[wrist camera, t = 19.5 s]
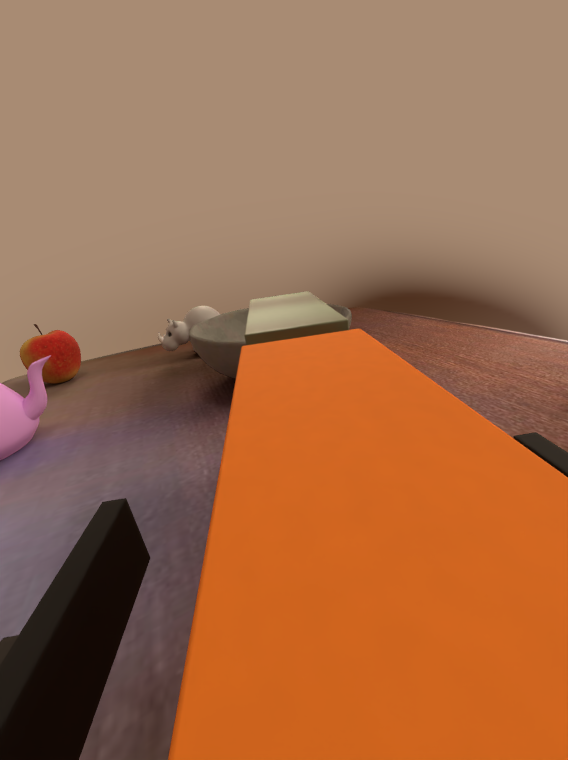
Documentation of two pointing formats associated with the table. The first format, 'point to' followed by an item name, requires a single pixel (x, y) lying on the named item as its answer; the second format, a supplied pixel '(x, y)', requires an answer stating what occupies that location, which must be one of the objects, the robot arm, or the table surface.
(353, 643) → the orange rectangular block
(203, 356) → the bowl
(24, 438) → the teapot
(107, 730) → the table surface
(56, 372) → the apple
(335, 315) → the pad holder
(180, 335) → the round bodied animal figurine
